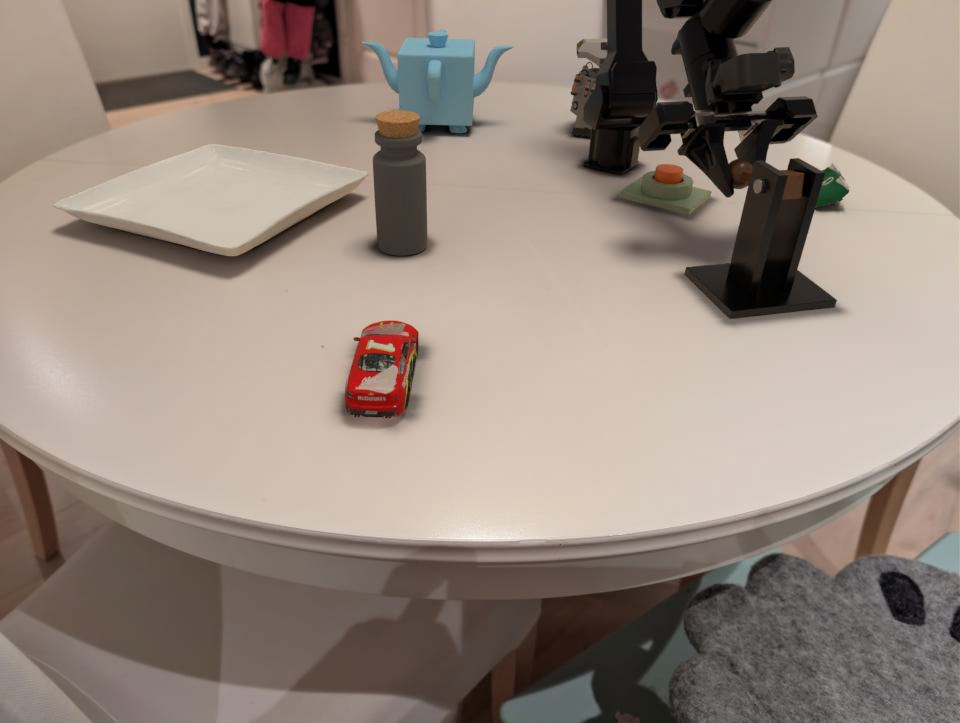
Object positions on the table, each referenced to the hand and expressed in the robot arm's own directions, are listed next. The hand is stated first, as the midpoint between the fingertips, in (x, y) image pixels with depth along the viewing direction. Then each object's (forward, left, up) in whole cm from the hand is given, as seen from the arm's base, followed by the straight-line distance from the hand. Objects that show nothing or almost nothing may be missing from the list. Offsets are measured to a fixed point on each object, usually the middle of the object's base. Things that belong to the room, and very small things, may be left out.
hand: (744, 194), depth 79 cm
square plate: (-57, -24, -9) cm, 62 cm away
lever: (+2, -2, +1) cm, 3 cm away
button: (-14, +15, -6) cm, 22 cm away
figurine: (-35, +38, -9) cm, 53 cm away
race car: (-17, -40, -9) cm, 44 cm away
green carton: (+3, +28, -9) cm, 30 cm away
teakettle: (-60, +25, -9) cm, 66 cm away
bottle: (-33, -18, -9) cm, 38 cm away
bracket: (+5, -4, -9) cm, 11 cm away
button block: (-14, +15, -9) cm, 23 cm away
